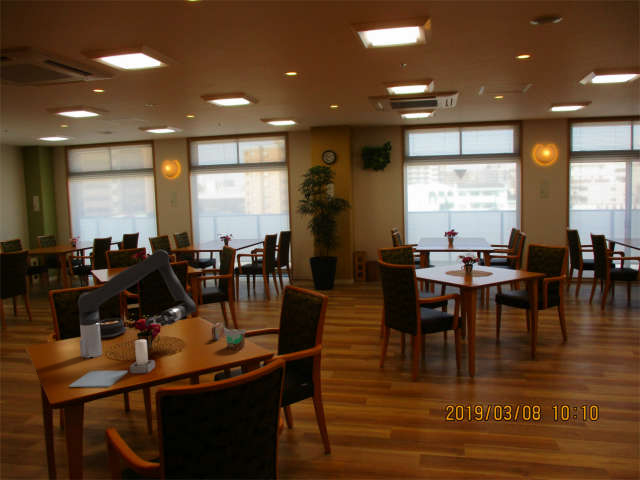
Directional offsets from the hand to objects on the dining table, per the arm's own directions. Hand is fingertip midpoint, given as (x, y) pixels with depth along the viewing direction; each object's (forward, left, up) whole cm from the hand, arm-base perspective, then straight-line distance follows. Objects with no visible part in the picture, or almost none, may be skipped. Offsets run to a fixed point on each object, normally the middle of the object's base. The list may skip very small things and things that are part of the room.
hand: (153, 324), depth 244 cm
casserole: (-49, +52, -19) cm, 74 cm away
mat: (-17, -23, -19) cm, 34 cm away
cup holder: (-2, -11, -19) cm, 22 cm away
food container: (+34, +20, -19) cm, 44 cm away
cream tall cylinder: (-2, -11, -19) cm, 22 cm away
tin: (+21, +40, -19) cm, 49 cm away
